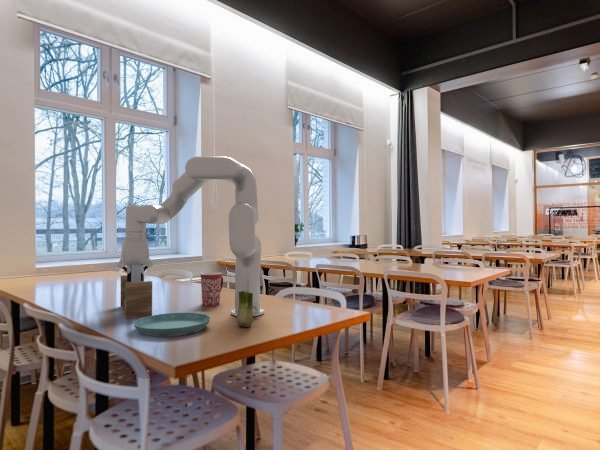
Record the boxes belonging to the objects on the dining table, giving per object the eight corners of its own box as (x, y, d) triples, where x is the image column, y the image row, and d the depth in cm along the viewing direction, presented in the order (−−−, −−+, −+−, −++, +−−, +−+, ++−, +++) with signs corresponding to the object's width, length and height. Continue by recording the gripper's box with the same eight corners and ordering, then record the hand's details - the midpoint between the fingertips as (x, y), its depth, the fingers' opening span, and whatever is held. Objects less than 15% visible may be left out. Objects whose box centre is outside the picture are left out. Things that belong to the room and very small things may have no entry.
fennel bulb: (254, 327, 137) (255, 291, 137) (241, 329, 134) (241, 292, 134) (248, 324, 142) (248, 289, 142) (234, 325, 139) (234, 290, 140)
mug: (212, 307, 171) (213, 274, 171) (195, 305, 175) (195, 273, 175) (230, 302, 183) (230, 272, 183) (214, 300, 187) (214, 271, 187)
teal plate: (200, 318, 151) (200, 309, 151) (219, 333, 130) (219, 323, 130) (129, 325, 140) (130, 315, 140) (137, 343, 119) (137, 331, 119)
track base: (152, 316, 153) (152, 281, 153) (125, 319, 149) (126, 283, 149) (143, 304, 176) (143, 274, 176) (120, 306, 172) (120, 275, 172)
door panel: (140, 291, 158) (141, 265, 158) (132, 291, 156) (132, 265, 157) (137, 287, 169) (137, 262, 169) (129, 287, 167) (129, 262, 167)
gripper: (155, 236, 170) (155, 280, 170) (112, 236, 162) (111, 282, 162) (158, 236, 163) (157, 283, 163) (113, 236, 155) (112, 285, 155)
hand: (134, 282), depth 162 cm, fingers closed on door panel, 3 cm apart
